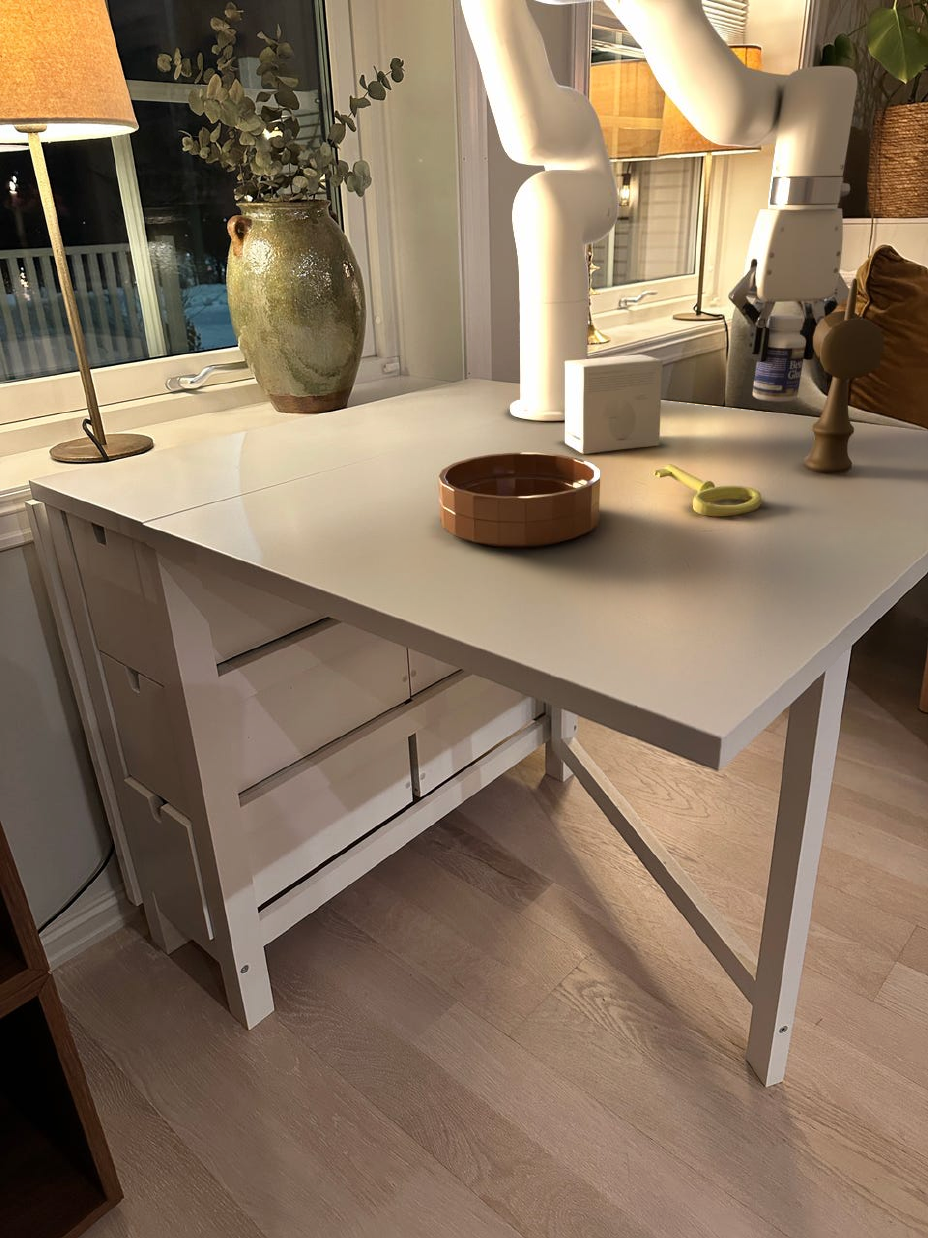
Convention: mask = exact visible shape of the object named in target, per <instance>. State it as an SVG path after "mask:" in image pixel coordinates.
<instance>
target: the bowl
mask: <svg viewBox="0 0 928 1238" xmlns="http://www.w3.org/2000/svg"><path fill="white" fill-rule="evenodd" d="M437 481H438V482H437V483H438V501H439V504H438V505H439V521H440V523H441V525H442V527H443V529H444V530H446V531H447V532H448V533H450V534H452V535H454V536H455V537H458V538H461V539H464V540H467V541H470V542H473V543H477V544H480V545H486V546H491V547H500V548H534V547H543V546H549V545H555V544H559V543H563V542H566V541H569V540H571V539H575V538H577V537H580V536H582V535H584V534H586V533H588V532H591V531H592V530H593V529H594V528H595V527H596V526H597V525H598V524H599V523H600V497H601V495H600V494H601V470H600V469H599V468H598V467H597V466H596V465H594V464H593V463H591V462H588V461H586V460H584V459H580V458H578V457H574V456H568V455H563V454H556V453H555V454H554V453H545V452H544V453H543V452H505V453H504V452H503V453H493V454H491V453H490V454H485V455H481V456H475V457H470V458H466V459H463V460H460V461H456V462H455V463H454V462H453V463H451V464H450V465H448V466H446V467H444V468H443V469H442V470H441V471H440V473H439V475H438V476H437Z"/></svg>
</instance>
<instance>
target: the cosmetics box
mask: <svg viewBox="0 0 928 1238" xmlns="http://www.w3.org/2000/svg"><path fill="white" fill-rule="evenodd" d="M663 363H664V362H663V359H661V358H657V357H653V356H649V355H646V354H640V353H639V354H629V355H620V356H619V355H618V356H607V357H595V358H587V359H583V360H571V361H565V420H564V443H565V445H567V446H569V447H570V448H573V449H575V450H576V451H577V452H579V453H580V454H582V455H587V454H596V453H602V452H603V453H604V452H611V451H613V452H614V451H621V450H630V449H638V448H647V447H655V446H660V441H661V440H660V438H661V436H660V435H661V433H660V432H661V410H662V409H661V407H662V405H661V404H662V384H663V383H662V382H663V381H662V379H663V365H664V364H663Z"/></svg>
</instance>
